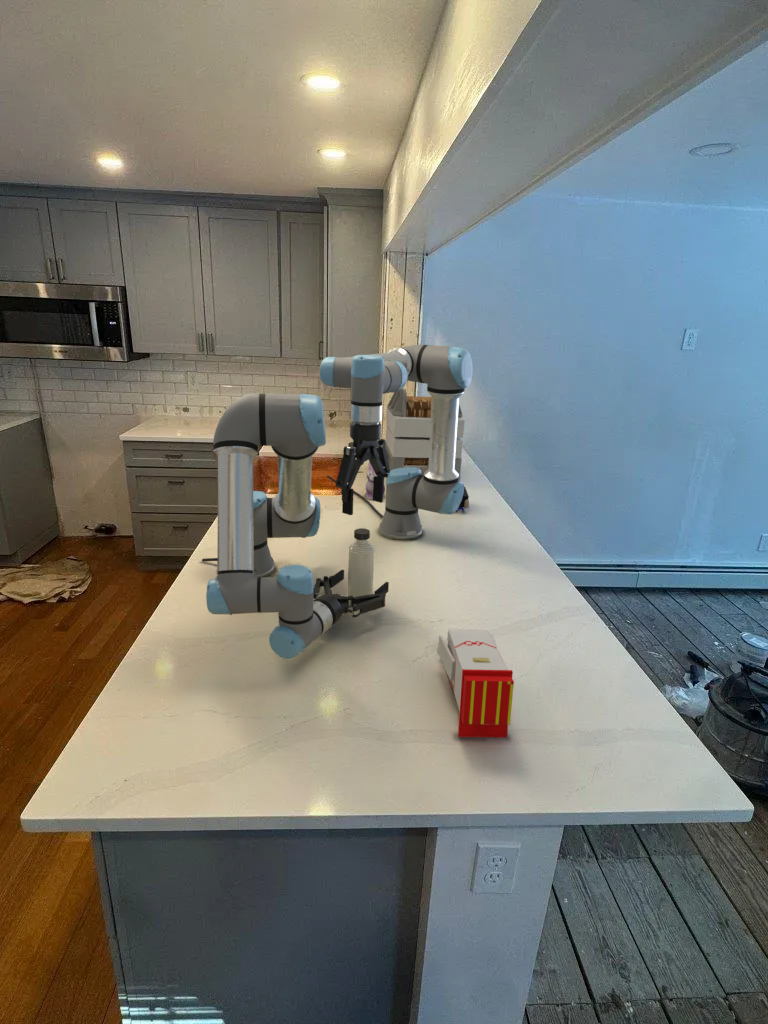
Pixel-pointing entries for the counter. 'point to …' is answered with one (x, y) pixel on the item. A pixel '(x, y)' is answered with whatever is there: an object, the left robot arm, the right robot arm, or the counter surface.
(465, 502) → the figurine character
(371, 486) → the figurine
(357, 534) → the cap
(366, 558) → the bottle
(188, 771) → the counter surface
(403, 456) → the transformer
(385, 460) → the right robot arm
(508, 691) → the toy
